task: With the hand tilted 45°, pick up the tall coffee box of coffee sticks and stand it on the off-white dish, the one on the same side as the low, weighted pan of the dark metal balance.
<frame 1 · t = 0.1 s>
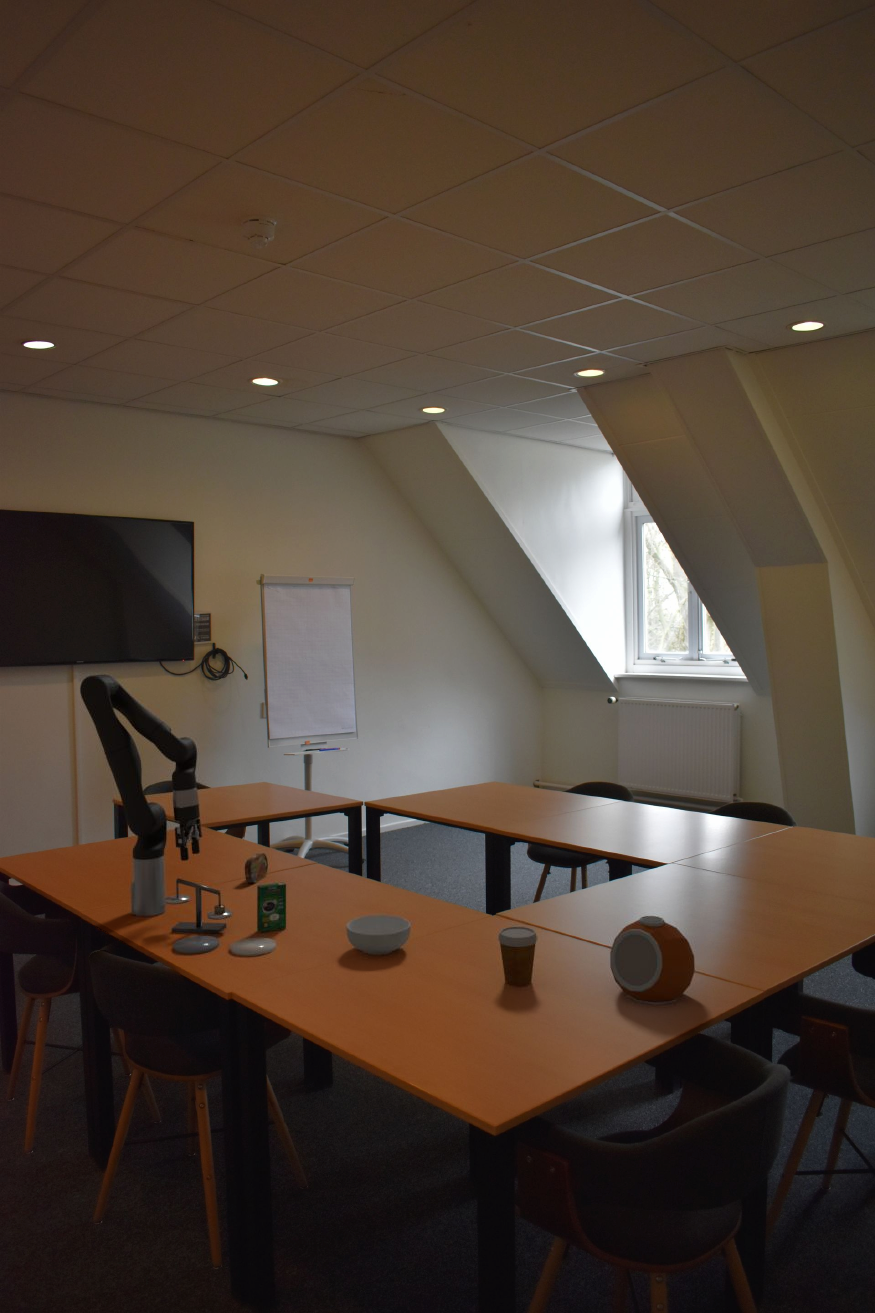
hand: (190, 857, 285), 17 cm above the table, tool pointing down, fingers open, 8 cm apart
disposable coffee cup: (518, 982, 225), on the table
balance: (199, 930, 269), on the table
cereal bowl: (378, 951, 249), on the table
coffee box: (272, 930, 268), on the table
alarm clock: (652, 994, 216), on the table
white dish: (253, 948, 252), on the table
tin: (256, 880, 324), on the table
grey dish: (196, 946, 254), on the table
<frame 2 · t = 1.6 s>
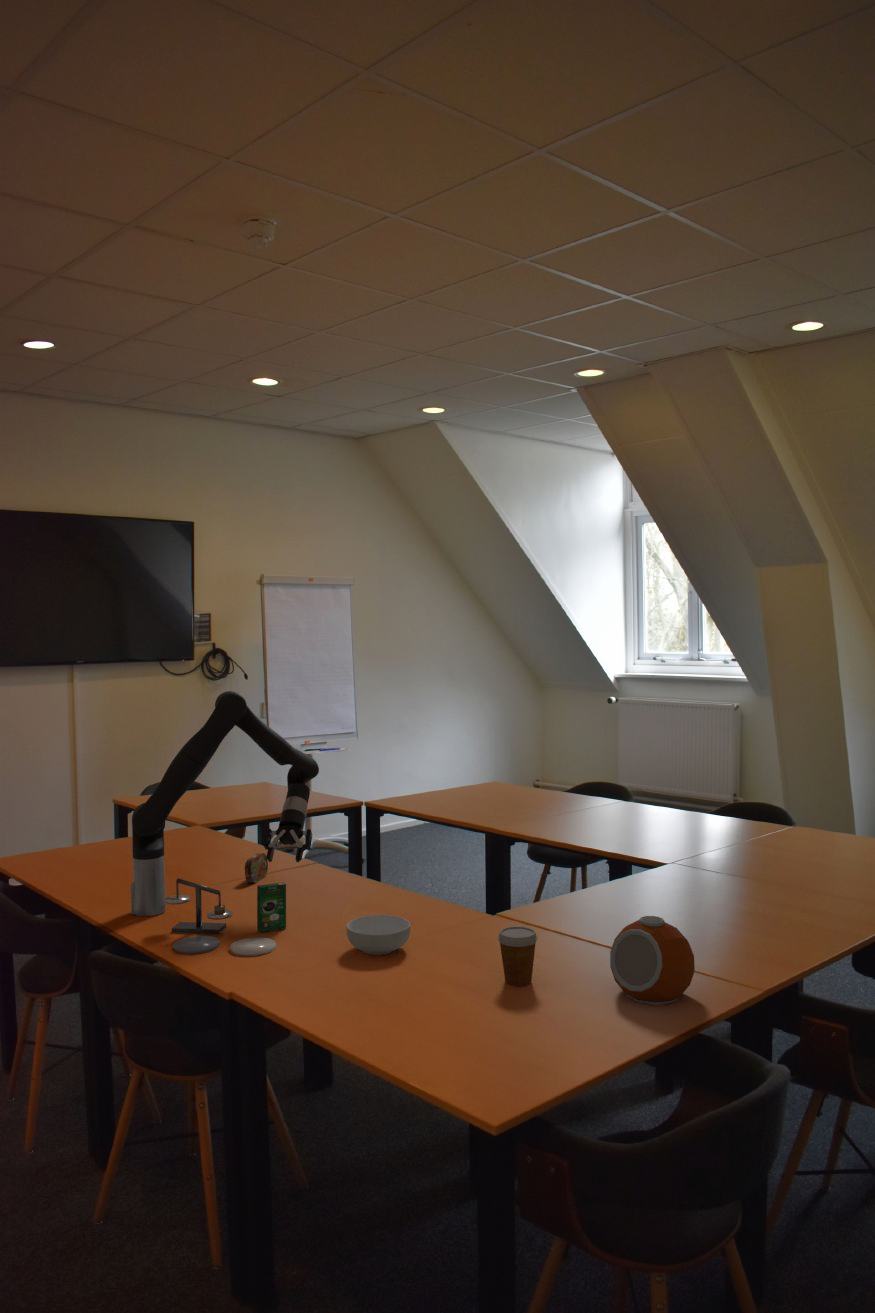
hand: (283, 860, 279), 17 cm above the table, tool tilted 45°, fingers open, 8 cm apart
nothing on the table moved.
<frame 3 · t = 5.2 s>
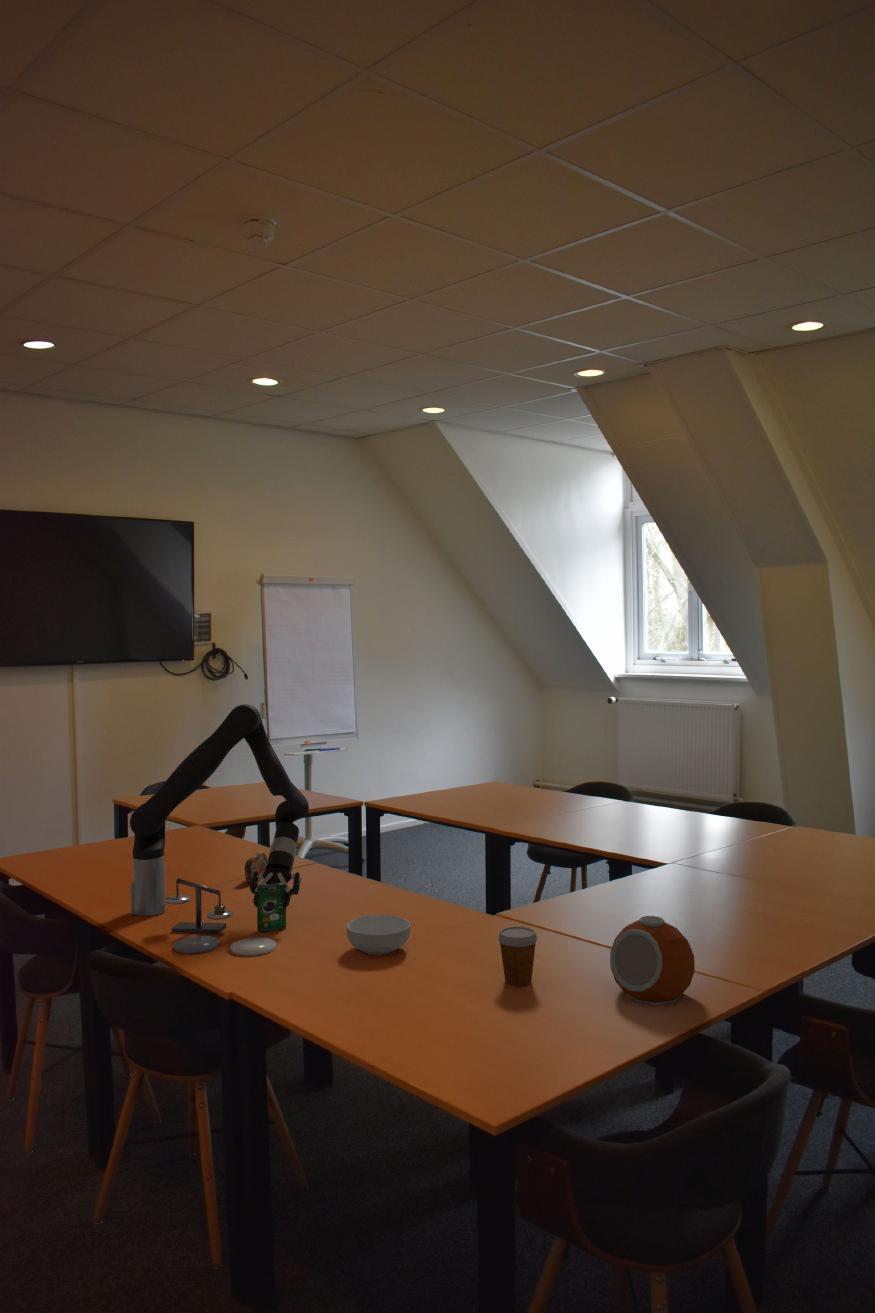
hand: (270, 906, 266), 7 cm above the table, tool tilted 45°, fingers closed on coffee box, 8 cm apart
coffee box: (272, 930, 268), on the table, touching gripper
everything else where it was.
when the fingers open (9 cm above the table, at t = 11.7 s): coffee box stays where it is, resting on white dish.
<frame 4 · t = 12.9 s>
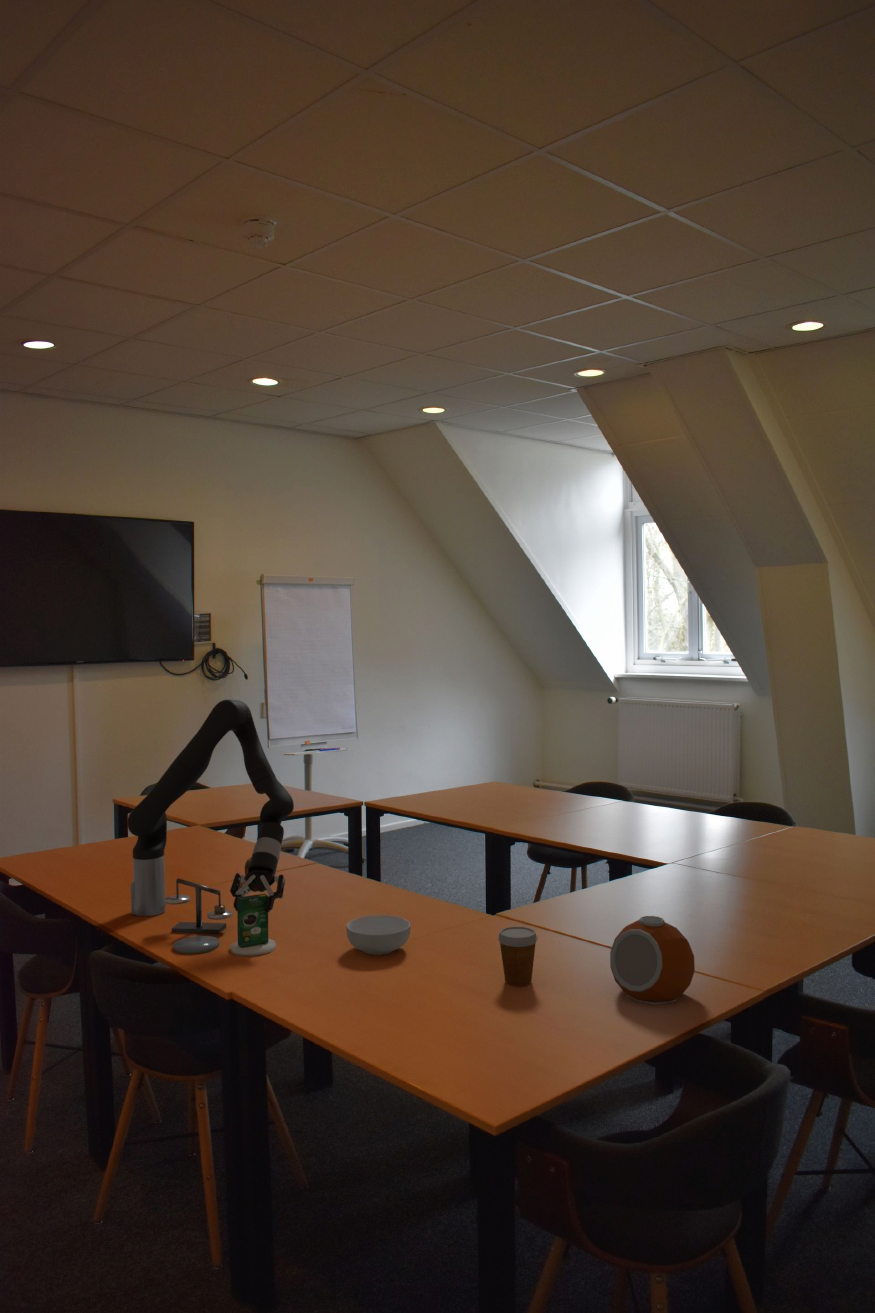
hand: (252, 910, 252), 10 cm above the table, tool tilted 45°, fingers open, 8 cm apart
coffee box: (253, 945, 252), point 1 cm above the table, touching gripper, white dish
everything else where it was.
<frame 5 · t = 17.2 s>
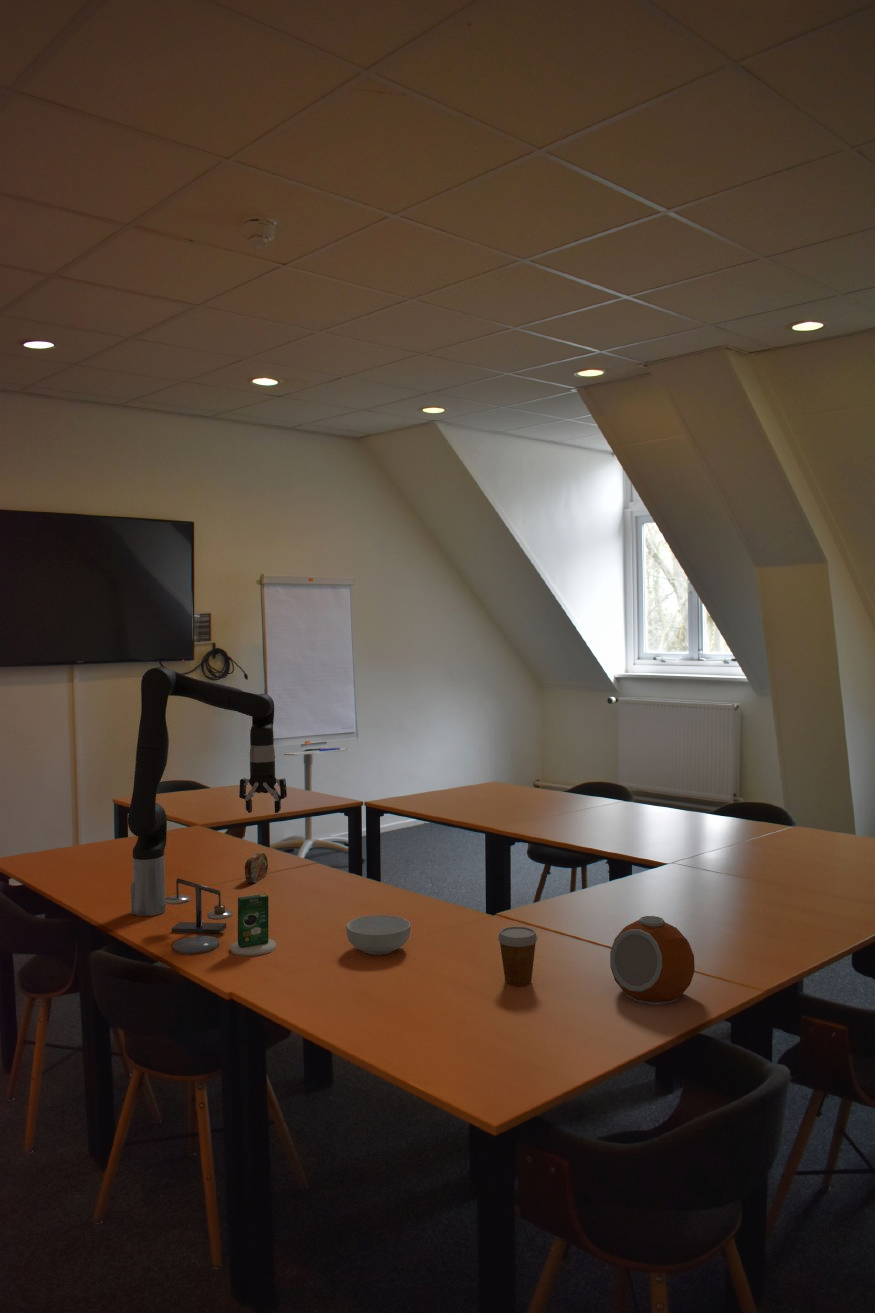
hand: (263, 812, 286), 30 cm above the table, tool pointing down, fingers open, 8 cm apart
coffee box: (253, 945, 252), point 1 cm above the table, touching white dish
everything else where it was.
at the end: coffee box inside the target area on the white dish (0.2 cm from its centre), point 0.8 cm above the white dish's base; coffee box tilted 0°; the gripper is holding nothing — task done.
